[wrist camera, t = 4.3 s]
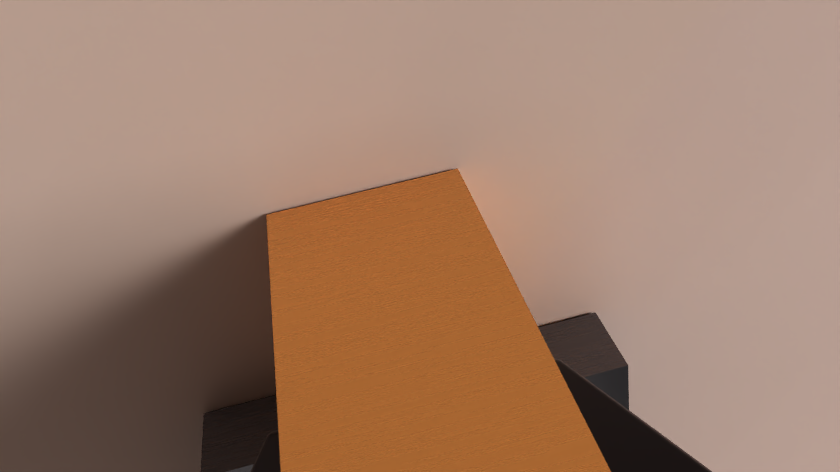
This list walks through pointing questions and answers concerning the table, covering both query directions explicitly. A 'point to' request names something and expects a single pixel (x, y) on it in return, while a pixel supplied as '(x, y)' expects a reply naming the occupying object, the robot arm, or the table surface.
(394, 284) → the orange grey l-shaped block
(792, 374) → the table surface
